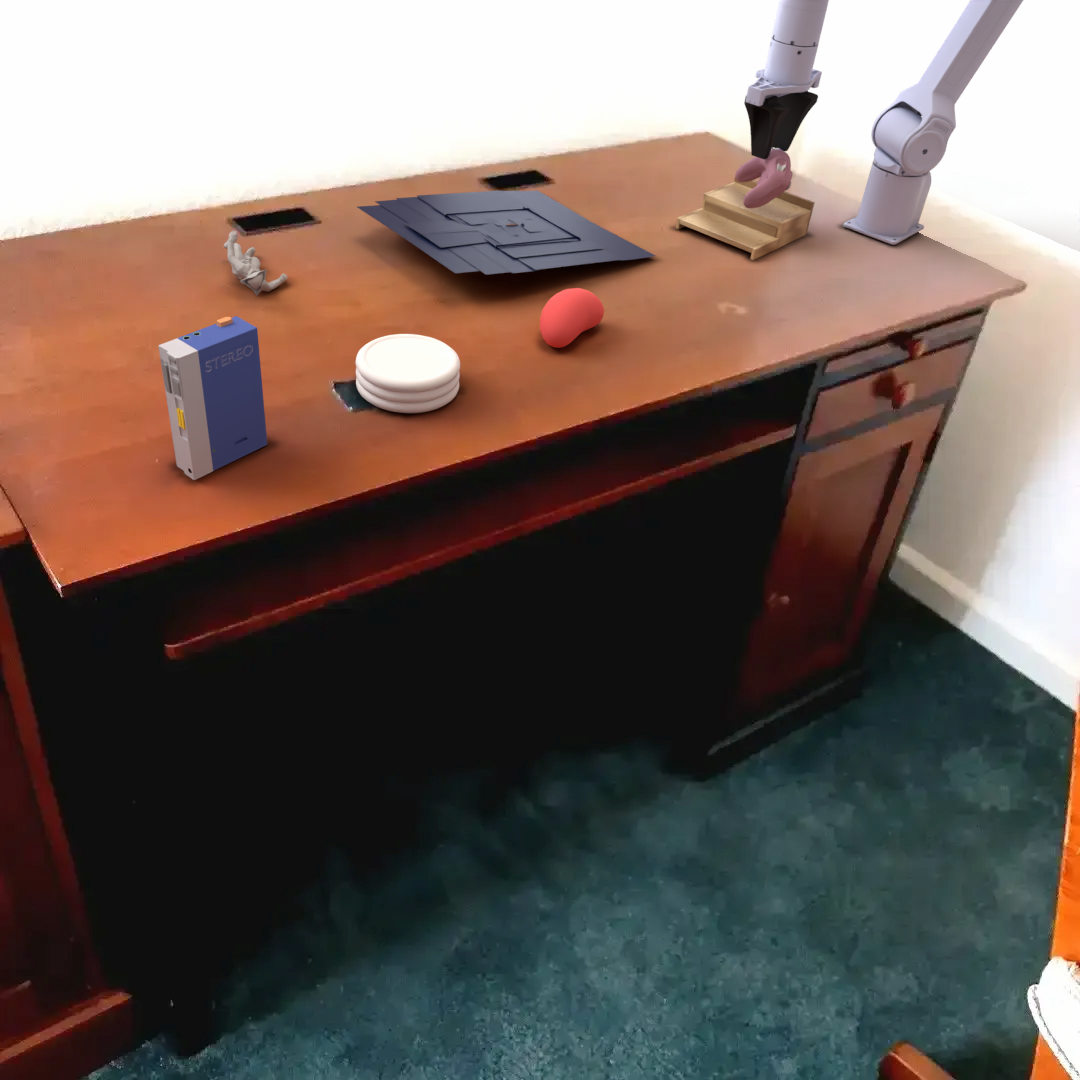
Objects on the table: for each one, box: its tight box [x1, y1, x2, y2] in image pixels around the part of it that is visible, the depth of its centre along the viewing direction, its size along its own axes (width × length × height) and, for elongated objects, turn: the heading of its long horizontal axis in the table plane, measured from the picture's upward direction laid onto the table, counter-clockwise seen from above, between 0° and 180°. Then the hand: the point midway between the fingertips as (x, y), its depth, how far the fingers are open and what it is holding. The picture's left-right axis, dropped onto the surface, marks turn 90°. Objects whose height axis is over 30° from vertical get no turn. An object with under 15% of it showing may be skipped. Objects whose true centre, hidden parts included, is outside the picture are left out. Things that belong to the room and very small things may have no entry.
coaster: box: [355, 333, 461, 414], centre depth 103 cm, size 10×10×4 cm
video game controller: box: [734, 147, 794, 208], centre depth 137 cm, size 10×5×7 cm, turn 179°
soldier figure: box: [223, 230, 289, 296], centre depth 117 cm, size 8×5×12 cm
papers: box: [356, 190, 656, 276], centre depth 131 cm, size 24×30×4 cm
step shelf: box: [675, 177, 816, 261], centre depth 141 cm, size 14×12×4 cm
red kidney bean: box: [539, 287, 605, 349], centre depth 114 cm, size 5×9×6 cm
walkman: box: [157, 315, 268, 481], centre depth 89 cm, size 8×3×12 cm, turn 140°
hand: (769, 152), depth 137 cm, fingers closed on video game controller, 4 cm apart
